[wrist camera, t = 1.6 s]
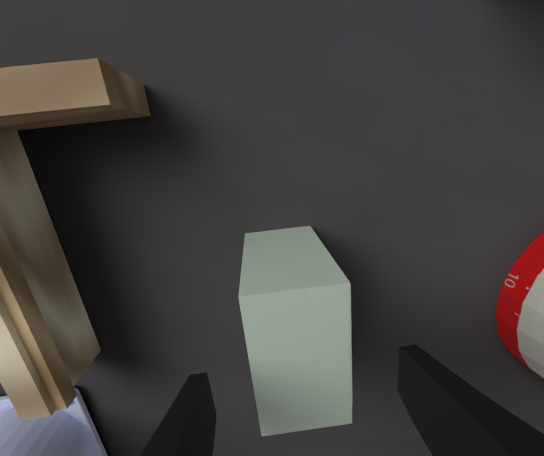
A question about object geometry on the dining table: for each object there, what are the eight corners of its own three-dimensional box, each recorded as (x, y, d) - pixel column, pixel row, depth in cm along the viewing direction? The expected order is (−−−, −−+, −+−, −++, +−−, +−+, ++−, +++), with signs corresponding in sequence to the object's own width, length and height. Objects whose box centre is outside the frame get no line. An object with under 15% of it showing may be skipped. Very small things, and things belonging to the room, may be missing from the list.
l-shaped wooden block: (201, 337, 18) (184, 397, 13) (78, 353, 18) (21, 420, 13) (141, 72, 13) (84, 36, 9) (-32, 90, 13) (-178, 61, 8)
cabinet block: (323, 320, 18) (363, 421, 11) (258, 328, 18) (261, 436, 11) (318, 224, 16) (364, 280, 9) (245, 233, 16) (238, 296, 9)
